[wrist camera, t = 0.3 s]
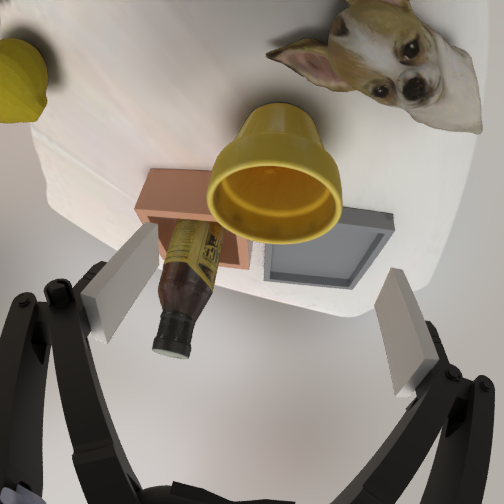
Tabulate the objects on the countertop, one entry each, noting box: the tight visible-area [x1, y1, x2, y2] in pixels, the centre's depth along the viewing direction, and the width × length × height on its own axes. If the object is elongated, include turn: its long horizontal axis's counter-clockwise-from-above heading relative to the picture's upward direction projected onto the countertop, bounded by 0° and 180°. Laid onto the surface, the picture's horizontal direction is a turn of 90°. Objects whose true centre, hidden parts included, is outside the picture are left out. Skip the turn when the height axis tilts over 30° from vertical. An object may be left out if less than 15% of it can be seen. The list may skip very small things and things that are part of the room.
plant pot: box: [206, 103, 343, 244], centre depth 25 cm, size 10×10×10 cm
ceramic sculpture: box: [265, 0, 483, 134], centre depth 15 cm, size 11×9×15 cm
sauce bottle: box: [152, 218, 226, 359], centre depth 35 cm, size 6×6×20 cm
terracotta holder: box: [134, 169, 253, 270], centre depth 38 cm, size 12×12×6 cm
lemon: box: [0, 38, 48, 123], centre depth 17 cm, size 11×8×8 cm
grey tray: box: [264, 207, 395, 290], centre depth 45 cm, size 20×16×2 cm
